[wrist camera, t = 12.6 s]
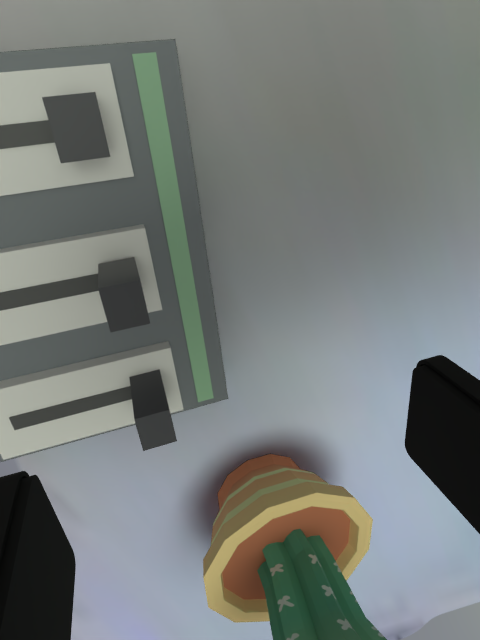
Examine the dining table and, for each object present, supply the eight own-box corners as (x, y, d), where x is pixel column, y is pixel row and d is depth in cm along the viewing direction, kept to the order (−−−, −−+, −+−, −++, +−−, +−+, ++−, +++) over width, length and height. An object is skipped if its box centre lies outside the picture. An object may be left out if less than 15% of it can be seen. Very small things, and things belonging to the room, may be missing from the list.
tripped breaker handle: (98, 263, 23) (98, 288, 19) (134, 257, 23) (140, 279, 20) (108, 302, 24) (110, 332, 20) (143, 295, 24) (150, 323, 21)
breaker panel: (-233, 80, 19) (-438, 52, 12) (166, 48, 23) (197, 13, 16) (-33, 444, 30) (-77, 549, 22) (218, 377, 34) (250, 447, 27)
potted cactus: (197, 430, 36) (347, 901, 14) (347, 423, 41) (623, 757, 19) (174, 554, 41) (256, 1024, 20) (308, 534, 47) (488, 886, 25)
